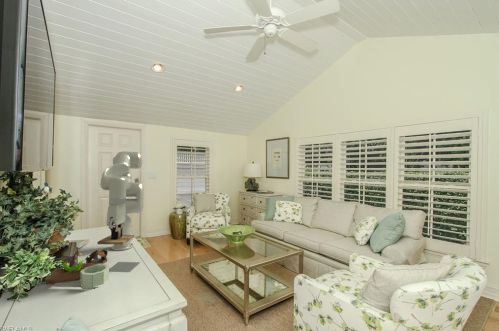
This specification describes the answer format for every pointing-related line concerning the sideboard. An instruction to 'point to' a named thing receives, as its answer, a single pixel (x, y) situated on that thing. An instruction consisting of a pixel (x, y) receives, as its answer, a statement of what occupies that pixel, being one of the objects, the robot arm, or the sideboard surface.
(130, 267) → the mat
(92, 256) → the brown animal figurine
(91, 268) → the bowl
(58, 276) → the plant
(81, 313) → the sideboard surface
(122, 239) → the lid
